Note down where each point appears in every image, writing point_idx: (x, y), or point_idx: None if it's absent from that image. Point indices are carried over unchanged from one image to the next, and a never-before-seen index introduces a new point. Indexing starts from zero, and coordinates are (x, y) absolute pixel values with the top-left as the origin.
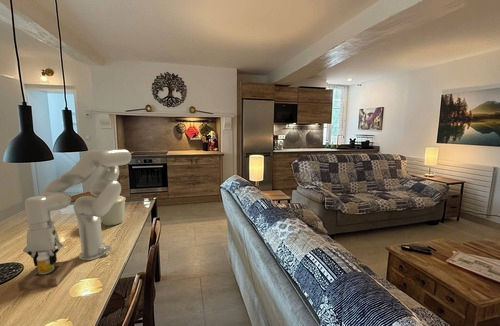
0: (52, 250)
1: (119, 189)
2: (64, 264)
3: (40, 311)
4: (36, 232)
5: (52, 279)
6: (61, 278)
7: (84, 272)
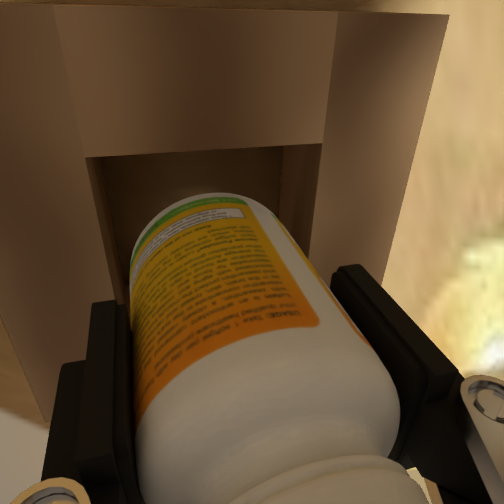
0: (487, 488)
1: None
2: (360, 126)
3: None
4: None
5: None
6: None
7: (486, 155)
